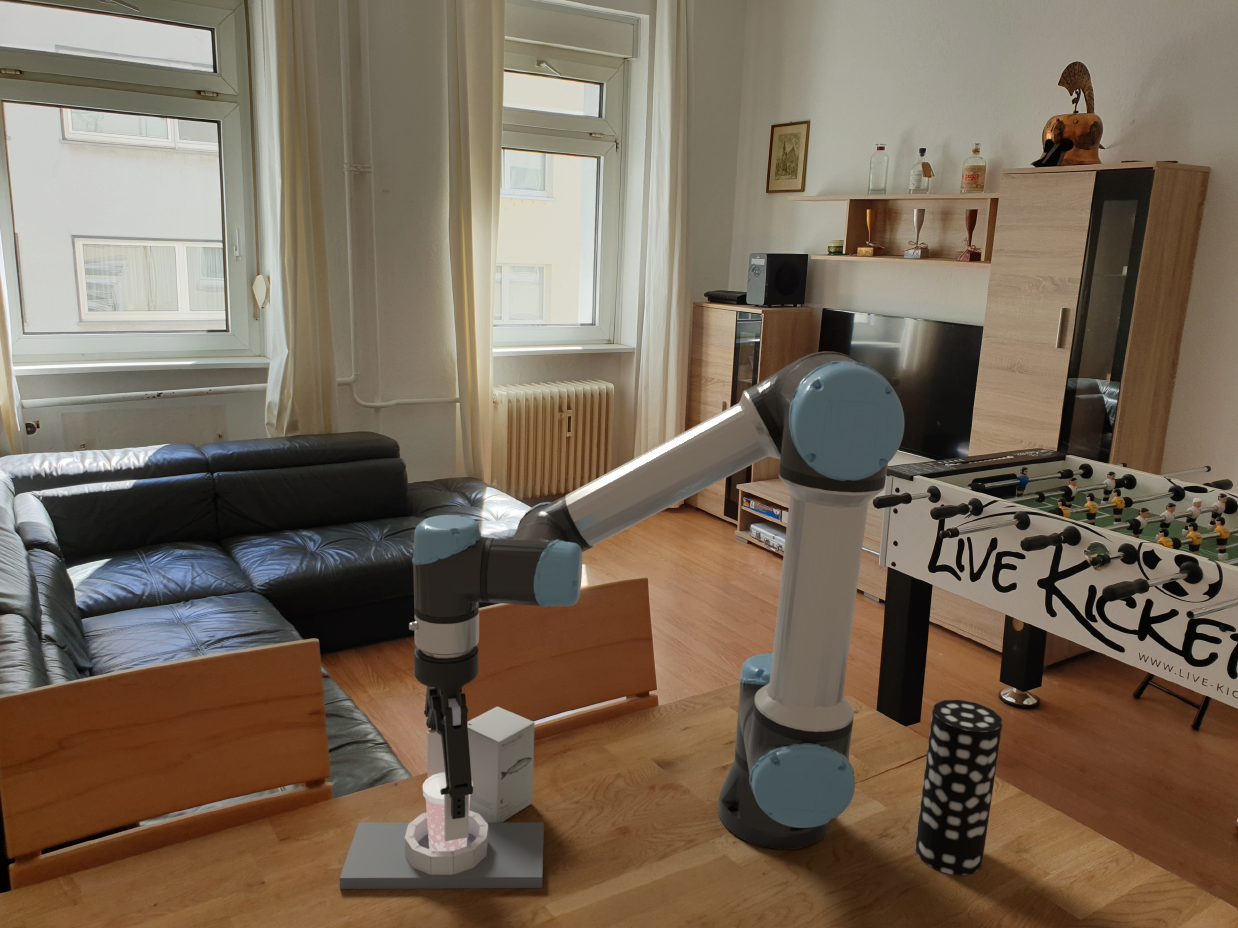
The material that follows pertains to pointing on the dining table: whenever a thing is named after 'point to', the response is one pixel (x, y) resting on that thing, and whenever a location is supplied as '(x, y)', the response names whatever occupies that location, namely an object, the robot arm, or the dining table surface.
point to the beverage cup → (438, 815)
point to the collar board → (445, 857)
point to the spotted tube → (958, 786)
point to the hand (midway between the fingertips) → (446, 805)
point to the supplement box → (500, 764)
